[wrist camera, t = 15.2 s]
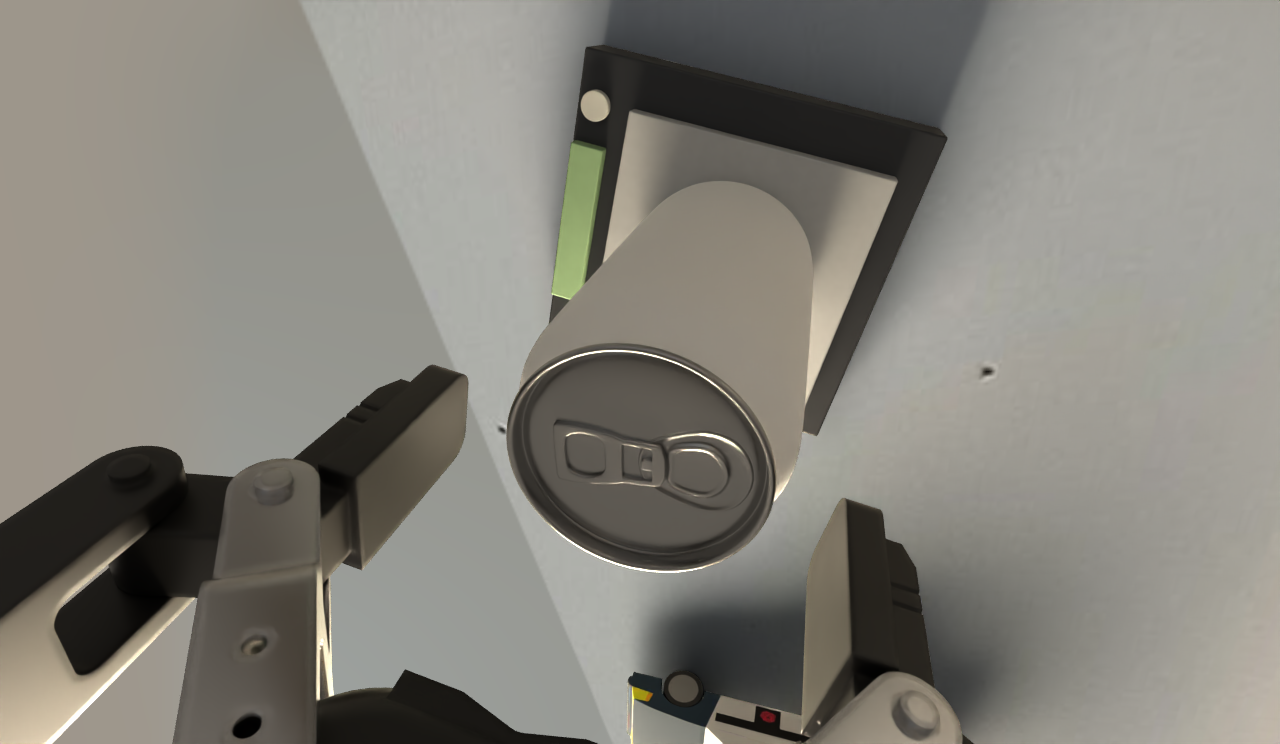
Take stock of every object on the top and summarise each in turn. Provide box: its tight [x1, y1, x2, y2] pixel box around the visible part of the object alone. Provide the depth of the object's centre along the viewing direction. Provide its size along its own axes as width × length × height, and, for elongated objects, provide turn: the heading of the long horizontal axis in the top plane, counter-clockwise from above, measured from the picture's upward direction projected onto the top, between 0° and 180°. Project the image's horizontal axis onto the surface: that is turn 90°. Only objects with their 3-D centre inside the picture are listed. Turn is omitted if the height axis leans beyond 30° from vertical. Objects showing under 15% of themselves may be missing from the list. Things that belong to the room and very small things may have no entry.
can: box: [507, 181, 813, 572], centre depth 18 cm, size 6×6×12 cm
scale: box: [549, 45, 947, 436], centre depth 24 cm, size 12×12×2 cm
